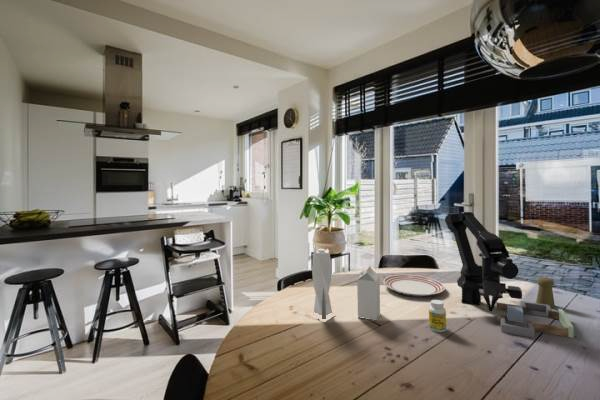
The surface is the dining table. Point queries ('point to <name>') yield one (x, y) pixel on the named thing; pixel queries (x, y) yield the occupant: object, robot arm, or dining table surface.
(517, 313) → the slate block
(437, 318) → the supplement bottle
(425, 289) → the dinner plate
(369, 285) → the milk carton
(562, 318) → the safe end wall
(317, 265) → the skyscraper
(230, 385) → the dining table surface
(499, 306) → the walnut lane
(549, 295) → the cork
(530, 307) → the trap pockets
